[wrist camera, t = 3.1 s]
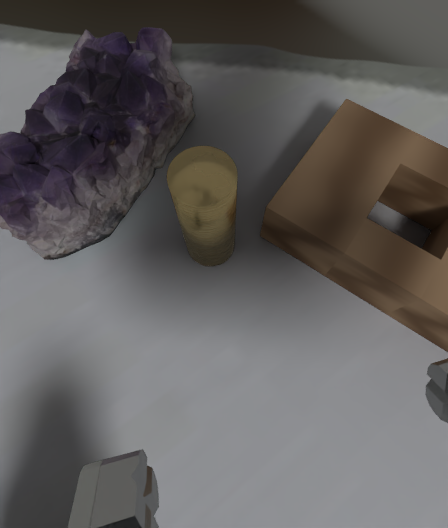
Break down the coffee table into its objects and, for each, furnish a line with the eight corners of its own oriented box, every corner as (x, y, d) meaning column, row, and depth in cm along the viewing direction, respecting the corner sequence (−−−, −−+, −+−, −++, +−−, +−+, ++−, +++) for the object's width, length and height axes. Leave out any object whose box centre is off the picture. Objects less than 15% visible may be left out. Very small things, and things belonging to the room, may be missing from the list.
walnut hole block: (259, 235, 28) (266, 206, 24) (328, 140, 32) (346, 98, 27) (463, 361, 25) (518, 356, 20) (517, 239, 28) (576, 211, 23)
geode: (116, 292, 27) (32, 242, 18) (13, 246, 30) (-103, 183, 21) (219, 106, 32) (195, -8, 23) (122, 83, 36) (68, -24, 26)
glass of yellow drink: (177, 249, 28) (152, 182, 19) (205, 214, 29) (194, 134, 20) (216, 275, 27) (210, 219, 18) (243, 238, 28) (251, 167, 19)
